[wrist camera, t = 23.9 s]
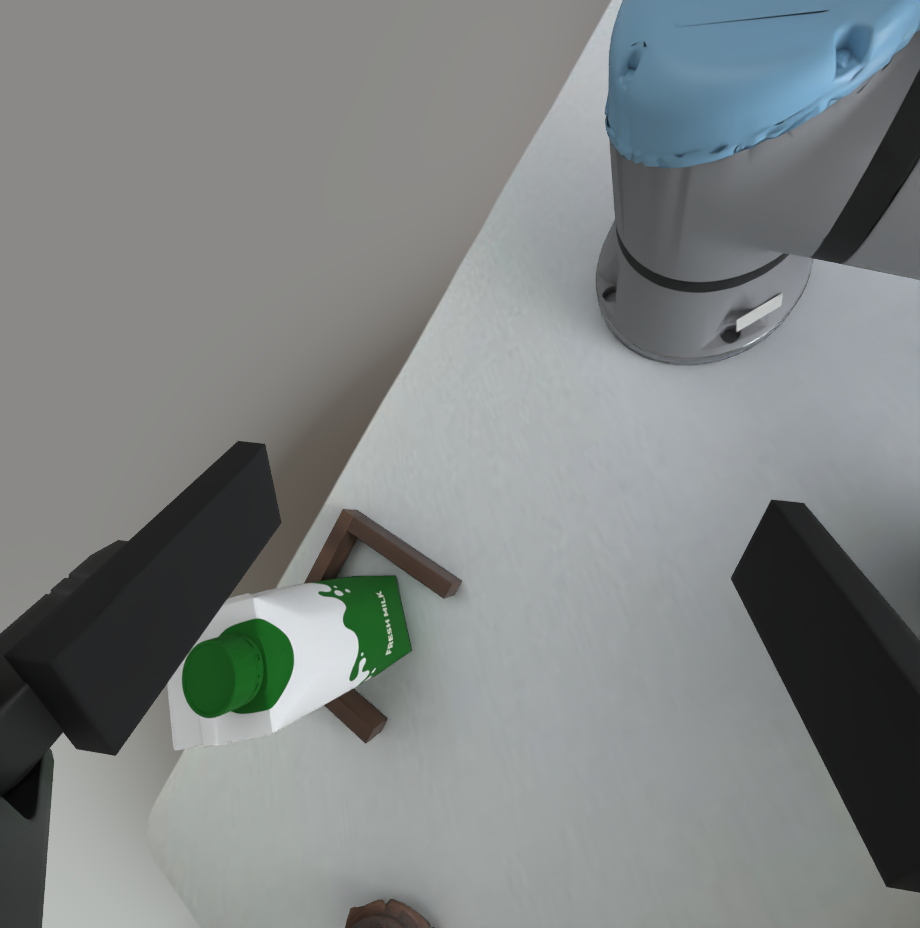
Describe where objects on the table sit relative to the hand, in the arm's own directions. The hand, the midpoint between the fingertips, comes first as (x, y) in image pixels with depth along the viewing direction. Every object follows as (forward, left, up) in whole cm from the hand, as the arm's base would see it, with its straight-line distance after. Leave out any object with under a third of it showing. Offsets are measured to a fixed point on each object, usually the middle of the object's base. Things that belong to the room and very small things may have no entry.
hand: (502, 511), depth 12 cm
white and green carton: (+18, -13, -28) cm, 36 cm away
